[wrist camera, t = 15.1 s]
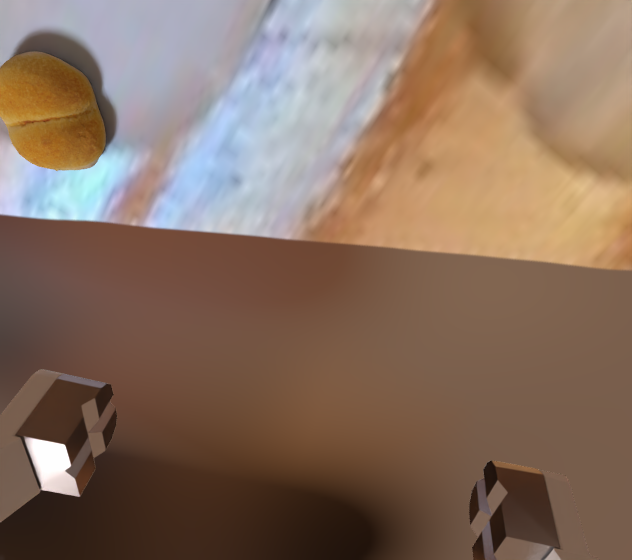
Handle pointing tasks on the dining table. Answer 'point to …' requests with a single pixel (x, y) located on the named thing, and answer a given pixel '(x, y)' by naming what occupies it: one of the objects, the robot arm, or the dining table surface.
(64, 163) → the bread roll
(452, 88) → the dining table surface
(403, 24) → the dining table surface
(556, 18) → the dining table surface
